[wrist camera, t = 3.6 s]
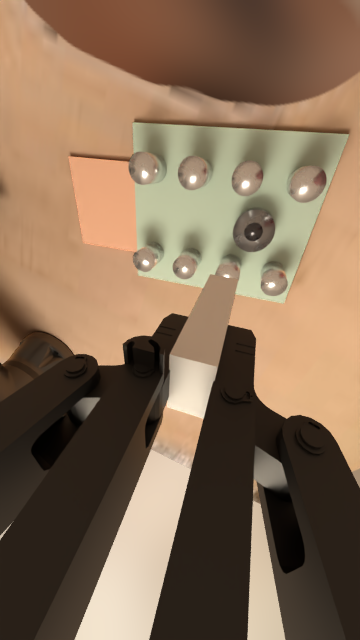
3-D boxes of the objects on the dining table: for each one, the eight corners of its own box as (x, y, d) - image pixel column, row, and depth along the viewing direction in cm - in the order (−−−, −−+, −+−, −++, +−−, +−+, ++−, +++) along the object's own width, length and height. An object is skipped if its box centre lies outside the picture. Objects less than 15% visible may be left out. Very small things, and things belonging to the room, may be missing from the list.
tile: (85, 242, 39) (83, 242, 39) (71, 156, 32) (68, 156, 32) (138, 251, 37) (137, 252, 37) (135, 162, 30) (133, 162, 30)
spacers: (145, 260, 37) (133, 269, 34) (143, 152, 29) (127, 150, 25) (280, 284, 33) (282, 298, 29) (322, 167, 25) (332, 167, 21)
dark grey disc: (231, 244, 32) (229, 249, 30) (238, 204, 29) (237, 207, 27) (267, 249, 31) (268, 255, 29) (279, 209, 28) (280, 212, 26)
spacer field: (139, 274, 39) (138, 275, 39) (134, 123, 28) (132, 122, 28) (283, 301, 35) (283, 303, 34) (347, 134, 23) (349, 134, 23)
